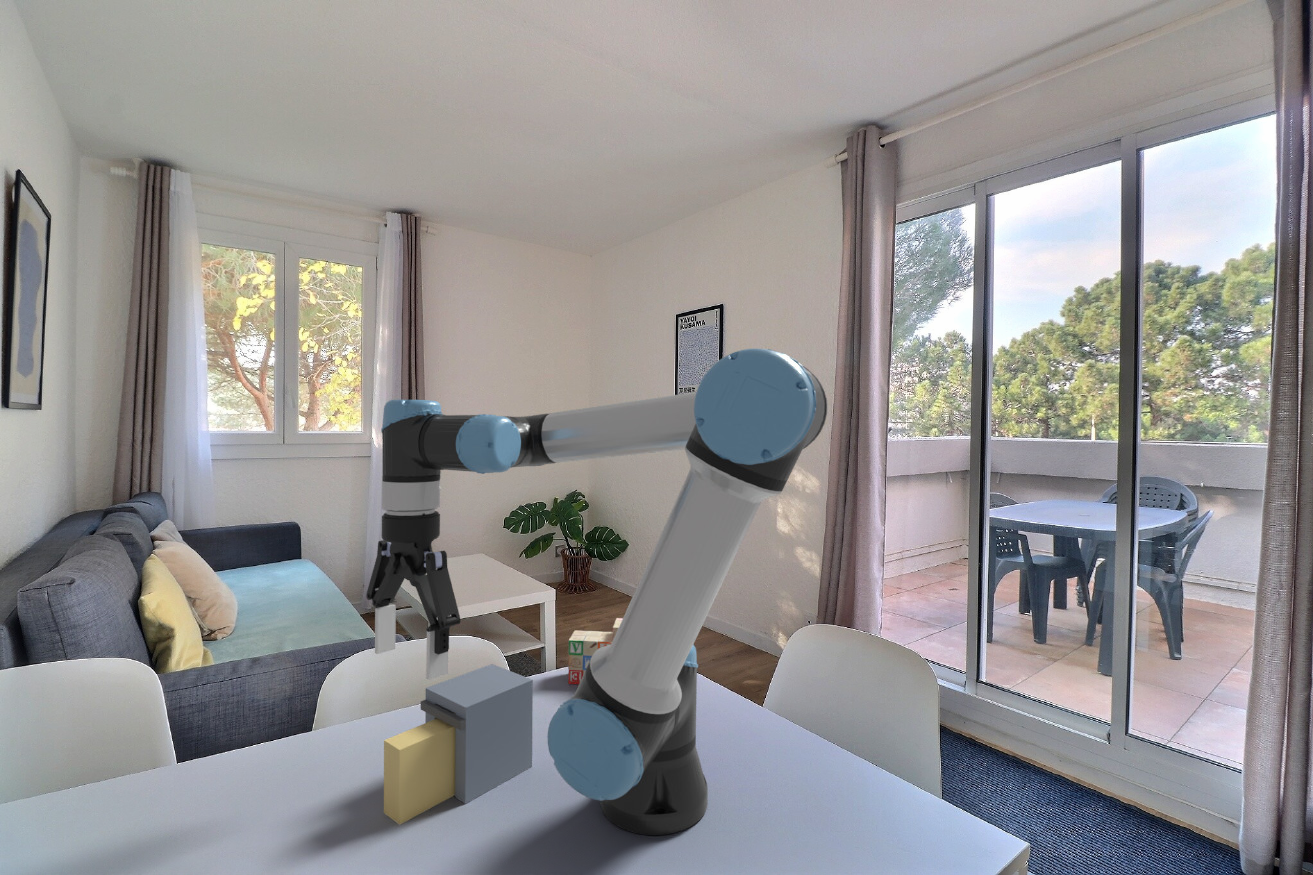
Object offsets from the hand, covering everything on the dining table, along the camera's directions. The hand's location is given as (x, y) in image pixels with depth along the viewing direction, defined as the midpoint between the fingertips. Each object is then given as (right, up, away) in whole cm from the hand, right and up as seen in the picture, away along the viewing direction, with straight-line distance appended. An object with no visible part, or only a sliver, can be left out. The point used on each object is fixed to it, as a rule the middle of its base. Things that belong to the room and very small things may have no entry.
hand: (409, 663), depth 85 cm
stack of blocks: (+27, -19, +42) cm, 53 cm away
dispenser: (+8, -19, +8) cm, 22 cm away
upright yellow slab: (+3, -20, +2) cm, 20 cm away
